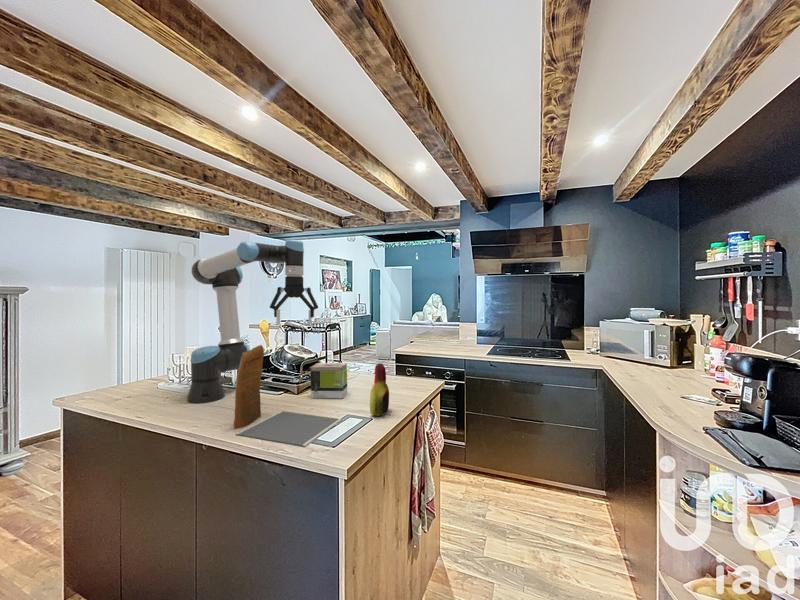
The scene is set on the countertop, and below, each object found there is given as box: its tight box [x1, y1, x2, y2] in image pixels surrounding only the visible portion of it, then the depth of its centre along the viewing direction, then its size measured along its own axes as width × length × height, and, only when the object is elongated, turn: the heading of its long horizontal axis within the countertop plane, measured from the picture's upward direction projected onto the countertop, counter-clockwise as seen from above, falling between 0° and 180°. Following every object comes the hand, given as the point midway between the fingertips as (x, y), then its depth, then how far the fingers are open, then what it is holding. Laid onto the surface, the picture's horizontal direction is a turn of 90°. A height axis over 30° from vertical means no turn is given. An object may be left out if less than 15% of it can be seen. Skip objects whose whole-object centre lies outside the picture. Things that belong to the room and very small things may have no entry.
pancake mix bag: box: [233, 344, 265, 430], centre depth 133 cm, size 7×19×28 cm, turn 172°
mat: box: [235, 410, 343, 448], centre depth 127 cm, size 28×24×1 cm
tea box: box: [310, 362, 348, 399], centre depth 165 cm, size 15×10×15 cm, turn 84°
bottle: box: [369, 362, 390, 417], centre depth 141 cm, size 12×6×20 cm, turn 156°
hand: (294, 325), depth 152 cm, fingers open, 13 cm apart
